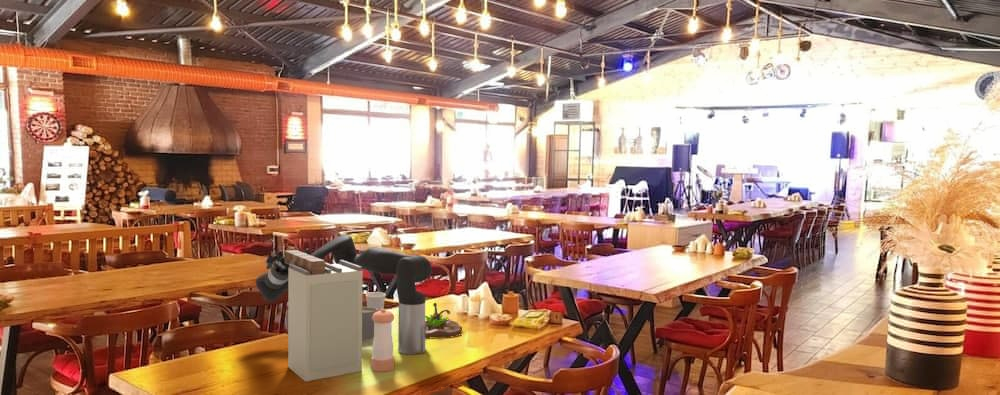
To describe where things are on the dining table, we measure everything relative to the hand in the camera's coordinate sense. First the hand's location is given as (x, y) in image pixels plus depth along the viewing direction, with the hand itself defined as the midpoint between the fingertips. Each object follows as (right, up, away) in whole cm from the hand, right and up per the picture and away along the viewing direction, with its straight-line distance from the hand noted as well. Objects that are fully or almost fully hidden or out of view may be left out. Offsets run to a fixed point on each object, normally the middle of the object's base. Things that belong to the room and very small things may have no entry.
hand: (295, 252), depth 210 cm
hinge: (-9, -34, +45) cm, 57 cm away
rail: (+5, -4, -6) cm, 9 cm away
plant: (+42, -35, +42) cm, 69 cm away
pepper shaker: (+29, -37, -3) cm, 47 cm away
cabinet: (+11, -37, -6) cm, 39 cm away
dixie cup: (+14, -33, +61) cm, 71 cm away
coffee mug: (+15, -35, +35) cm, 51 cm away
